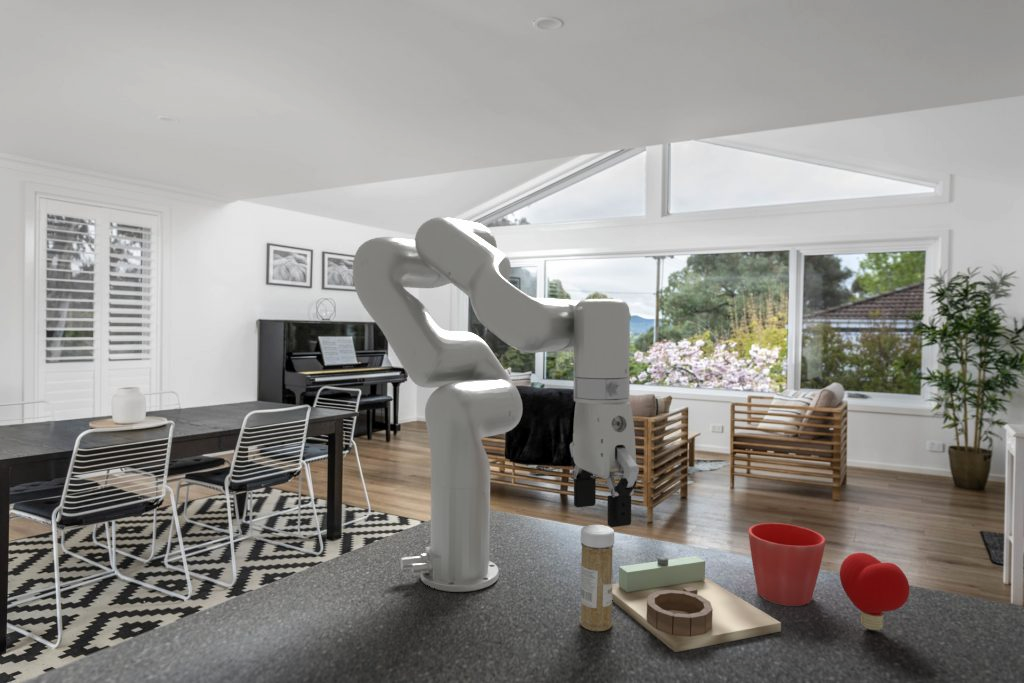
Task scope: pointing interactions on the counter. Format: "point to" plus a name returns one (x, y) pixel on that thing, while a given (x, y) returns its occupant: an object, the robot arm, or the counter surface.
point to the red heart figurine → (873, 587)
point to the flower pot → (785, 562)
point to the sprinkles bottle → (596, 577)
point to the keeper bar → (661, 573)
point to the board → (694, 614)
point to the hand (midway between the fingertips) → (601, 515)
